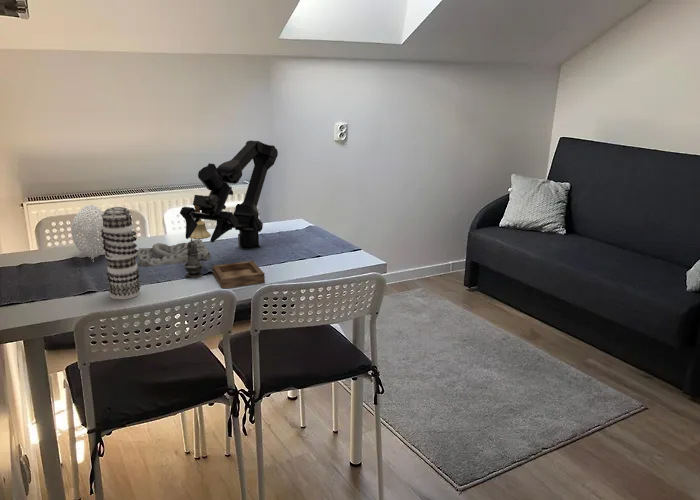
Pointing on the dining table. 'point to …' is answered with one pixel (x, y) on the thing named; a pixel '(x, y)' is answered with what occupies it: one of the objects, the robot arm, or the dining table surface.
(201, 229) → the hand bell
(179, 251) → the wall plaque
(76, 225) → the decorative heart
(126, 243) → the decorative candle
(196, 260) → the stone chess piece
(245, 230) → the robot arm
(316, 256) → the dining table surface
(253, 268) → the walnut tray
